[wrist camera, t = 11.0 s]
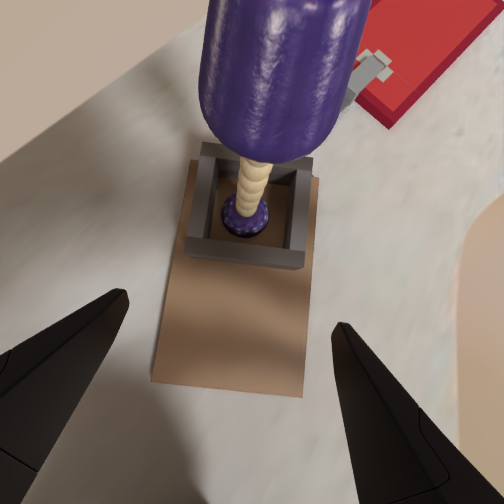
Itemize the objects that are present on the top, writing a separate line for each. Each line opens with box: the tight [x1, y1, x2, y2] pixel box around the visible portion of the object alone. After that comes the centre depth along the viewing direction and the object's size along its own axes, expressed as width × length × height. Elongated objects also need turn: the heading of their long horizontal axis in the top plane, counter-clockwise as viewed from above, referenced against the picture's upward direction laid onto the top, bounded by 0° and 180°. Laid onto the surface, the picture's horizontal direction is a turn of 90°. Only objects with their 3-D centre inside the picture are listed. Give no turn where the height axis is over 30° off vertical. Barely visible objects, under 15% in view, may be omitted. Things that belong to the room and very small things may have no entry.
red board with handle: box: [339, 0, 504, 130], centre depth 24 cm, size 30×3×15 cm
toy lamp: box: [198, 0, 372, 238], centre depth 12 cm, size 5×5×17 cm
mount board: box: [151, 142, 319, 398], centre depth 18 cm, size 19×12×4 cm, turn 173°
